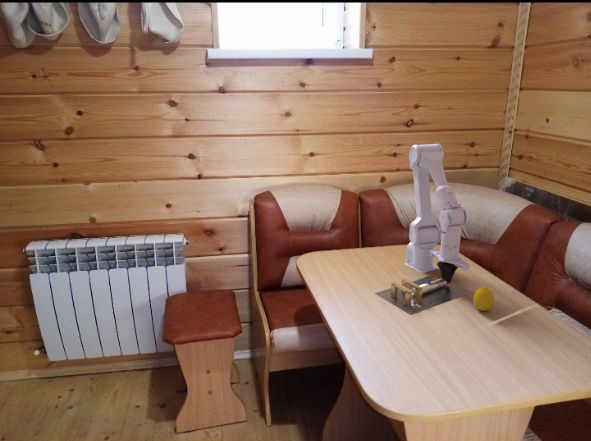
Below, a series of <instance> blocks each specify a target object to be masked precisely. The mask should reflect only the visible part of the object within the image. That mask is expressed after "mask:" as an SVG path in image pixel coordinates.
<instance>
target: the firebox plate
mask: <svg viewBox="0 0 591 441" xmlns="http://www.w3.org/2000/svg"><path fill="white" fill-rule="evenodd" d="M438 279H439V278H438V277H435V276H433V275H427V276H425V277H422V278H419V279H416V280H413V281H411V280H410V279H408V278H405V277H404V278H401V283H399V282H397V281H395V280H394V281H392V282H391V285H390V286H391V287H390V288H387V289H384V290H381V291H378V292H375V293H374V294H375V295H377V296H378V297H380V298H381V299H383V300H384V301H387V302H388V303H389V304H391V305H392V306H395V307H396V308H398V309H399V310H401V311H403V312H405V313H406V314H408V315H409V316H412V315H415V314H418V313H421V312H422V311H425V310H428V309H431V308H434V307H437V306H439V305H441V304H445V303H447V302H450V301H453V300H455V299H458V298H461V297H464V296H466V295H469V294H470V293H469V292H467V291H465V290H462V289H461V288H458V287H456V286H455V285H452V284H450V283H449V284H447V285H446V286H445V287H442V288H439V289H436V290H433V291H431V292H428V293H425V294H422V290H423V287H421V286H420V285H423V284H426V283H428V282H432V281H435V280H438ZM412 288H415V289H416V293H415V297H414V296H413V295H412V290H411V289H412Z"/></svg>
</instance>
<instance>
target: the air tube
mask: <svg viewBox="0 0 591 441" xmlns="http://www.w3.org/2000/svg"><path fill="white" fill-rule="evenodd" d="M446 285H447V282H446V280H445V279H444V278H442V277H441V278H438V280H435V281H432V282H428V283H426V284H423V285H420V286H421V287H423V290H422V294H425V293H428V292H431V291H433V290H436V289H439V288H442V287H445V286H446ZM411 290H412V295H413V296H414V297H415V293H416V289H415V288H412V289H411Z"/></svg>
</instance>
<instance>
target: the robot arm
mask: <svg viewBox="0 0 591 441" xmlns="http://www.w3.org/2000/svg"><path fill="white" fill-rule="evenodd" d="M444 155H445V153H444V148H443V146H442V144H441V143H429V144H426V143H425V144H413V145H412V146H411V147H410V150H409V153H408V157H409V158H408V159H409V168H410V170H412V172H413V184H414V185H413V186H414V187H413V188H414V197H415V199H414V201H415V211H416V218H415V219H414V220H413V221H411V223H410V224H409V231H408V232H409V233H408V236H409V238H408V239H409V241H410V242H409V243H408V245H407V247H406V253H405V254H406V257H405V263H404V265H405V266H408V267H410V268H411V269H413V270H415V271H417V272H419V273H422V274H425V273H428V272H430V271H434V270H437V269H439V271H440V275H441V278H444V279H445V280H446V282H447V284H450V283H451V281H452V278H453V277H454V274H455V273H456V271H457V270H458V268H460V269H461V270H462V271H464V272H465V271H469V269H470V263H468V262H466V261H465V260H464V259H462V258H461V257H460V256H459V253H460V248H461V247H460V244H461V238H462V237H461V235H462V225H466V222H467V220H468V219H467V212H466V209H465V207H463V206H462V205H461V204H460V203H459V202H458V199H457V197H456V194H455V190H454V188H453V186H451V185H448V180H447V178H446V174H445V170H444V165H443V161H444V157H445V156H444ZM429 174H430V175H429ZM430 177H431V179H432V181H433V183H434V184H435V187H436V190H435V191H434V195H435V196H434V197H435V199H436V201H437V204H438V207H439V211H440V213H439V217H438V218H439V220H436V219H435V218H434V217H433V215H432V214H433V213H432V212H433V210H432V200H431V188H430ZM438 243H440V249H439V250H437V249H436V247H437V246H438ZM435 258H437V259H438V262H437V264H436V265H437V266H436V265H434V262H435V261H434V260H435Z"/></svg>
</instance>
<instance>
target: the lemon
mask: <svg viewBox="0 0 591 441" xmlns="http://www.w3.org/2000/svg"><path fill="white" fill-rule="evenodd" d="M494 296H495V295H494V293H493V291H492V290H491V289H490V288H488V287H487V286H482V287H479V288H478V289H476V290H475V292H474V295H473V305H474V307H475V308H476V309H478V310H480V311H482V312H484V311H485V312H486V311H488V310H490V309H492V307H493V305H494V302H495V301H494V300H495V299H494V298H495V297H494Z"/></svg>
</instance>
